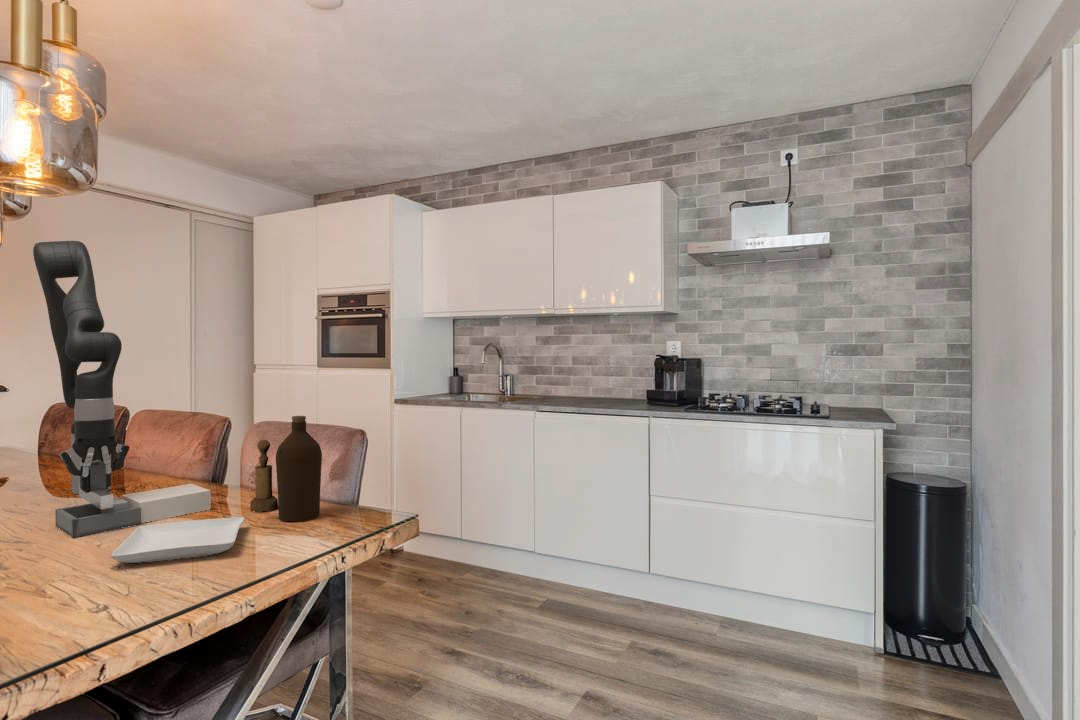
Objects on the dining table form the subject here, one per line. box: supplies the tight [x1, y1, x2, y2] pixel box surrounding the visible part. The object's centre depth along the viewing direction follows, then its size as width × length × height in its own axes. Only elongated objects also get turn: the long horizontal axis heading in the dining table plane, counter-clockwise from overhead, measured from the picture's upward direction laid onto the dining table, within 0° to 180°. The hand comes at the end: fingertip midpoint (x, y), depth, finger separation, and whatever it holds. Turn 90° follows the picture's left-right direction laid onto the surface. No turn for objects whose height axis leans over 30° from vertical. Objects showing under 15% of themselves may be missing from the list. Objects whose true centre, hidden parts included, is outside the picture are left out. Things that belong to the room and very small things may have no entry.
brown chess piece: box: [249, 439, 278, 513], centre depth 154 cm, size 7×6×18 cm
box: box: [55, 497, 142, 539], centre depth 140 cm, size 14×13×4 cm
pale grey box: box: [107, 498, 129, 513], centre depth 141 cm, size 4×4×3 cm
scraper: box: [78, 462, 114, 509], centre depth 140 cm, size 16×3×9 cm, turn 51°
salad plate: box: [110, 516, 245, 564], centre depth 125 cm, size 21×21×3 cm
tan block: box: [101, 495, 120, 514], centre depth 144 cm, size 4×4×3 cm
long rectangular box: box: [121, 483, 212, 524], centre depth 151 cm, size 12×16×5 cm
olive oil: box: [275, 415, 323, 522], centre depth 147 cm, size 11×11×25 cm
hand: (95, 490), depth 140 cm, fingers closed on scraper, 3 cm apart
